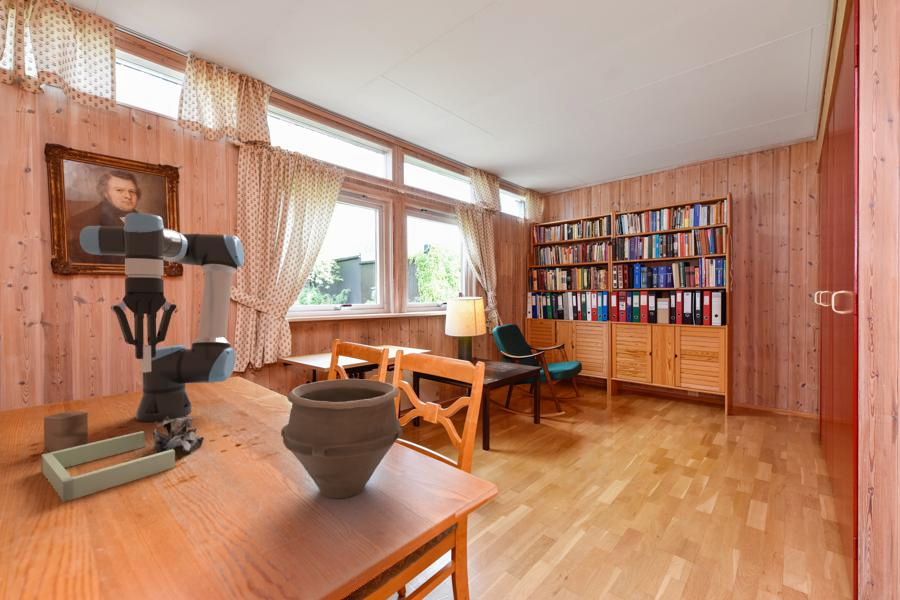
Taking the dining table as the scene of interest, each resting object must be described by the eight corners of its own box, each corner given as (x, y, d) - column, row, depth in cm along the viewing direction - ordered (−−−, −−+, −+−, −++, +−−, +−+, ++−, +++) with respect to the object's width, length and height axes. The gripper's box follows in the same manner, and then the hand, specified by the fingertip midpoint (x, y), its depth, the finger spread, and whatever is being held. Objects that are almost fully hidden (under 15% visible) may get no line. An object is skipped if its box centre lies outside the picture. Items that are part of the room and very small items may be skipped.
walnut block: (72, 442, 106) (72, 410, 106) (87, 445, 104) (87, 412, 104) (44, 451, 100) (44, 417, 100) (60, 454, 98) (59, 419, 98)
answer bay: (142, 445, 104) (142, 430, 104) (174, 467, 92) (174, 450, 91) (41, 471, 89) (41, 454, 89) (63, 502, 76) (63, 482, 76)
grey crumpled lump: (127, 449, 94) (166, 401, 107) (149, 474, 100) (183, 426, 113) (173, 448, 93) (206, 400, 106) (192, 474, 99) (222, 426, 112)
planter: (271, 480, 86) (270, 382, 85) (371, 454, 100) (371, 369, 99) (302, 538, 65) (300, 410, 65) (422, 495, 80) (421, 389, 79)
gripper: (170, 277, 103) (171, 365, 103) (106, 276, 92) (107, 373, 93) (180, 277, 98) (181, 369, 99) (114, 275, 88) (116, 378, 88)
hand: (145, 371), depth 96 cm, fingers closed
